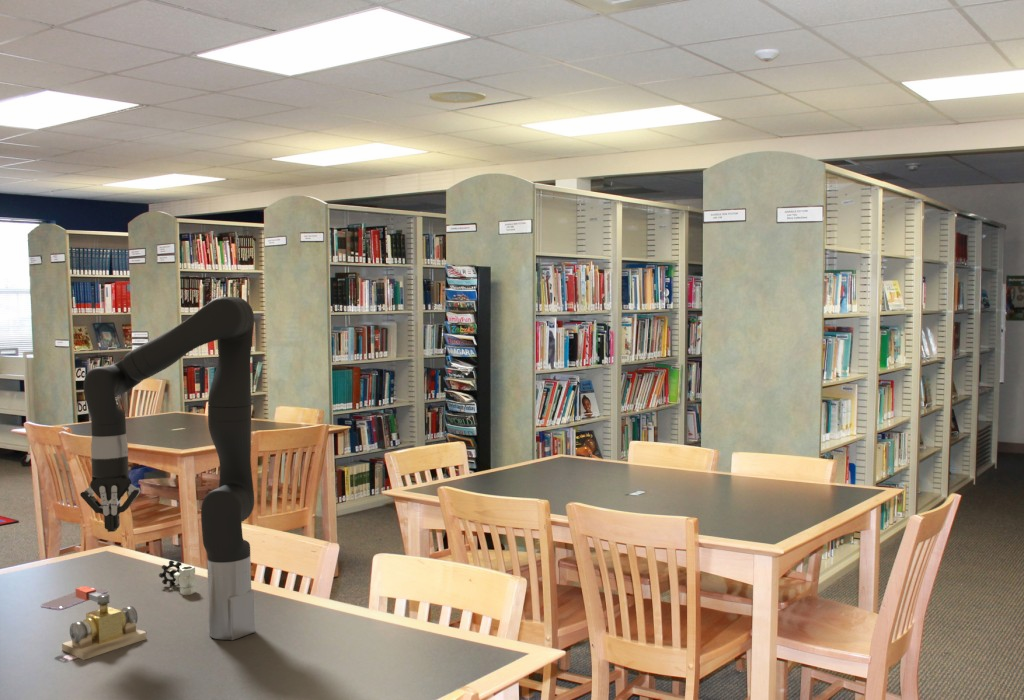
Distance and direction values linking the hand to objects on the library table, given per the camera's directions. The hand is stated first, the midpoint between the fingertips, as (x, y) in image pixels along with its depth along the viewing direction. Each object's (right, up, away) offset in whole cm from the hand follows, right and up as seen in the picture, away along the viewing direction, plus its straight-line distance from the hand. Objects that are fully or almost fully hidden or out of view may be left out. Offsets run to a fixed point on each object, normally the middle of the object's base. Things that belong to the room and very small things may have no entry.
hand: (112, 530), depth 197 cm
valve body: (+2, -22, -7) cm, 23 cm away
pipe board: (+2, -23, -7) cm, 24 cm away
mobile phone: (-20, -23, +24) cm, 39 cm away
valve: (+4, -22, +30) cm, 38 cm away
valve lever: (-2, -14, -5) cm, 15 cm away
